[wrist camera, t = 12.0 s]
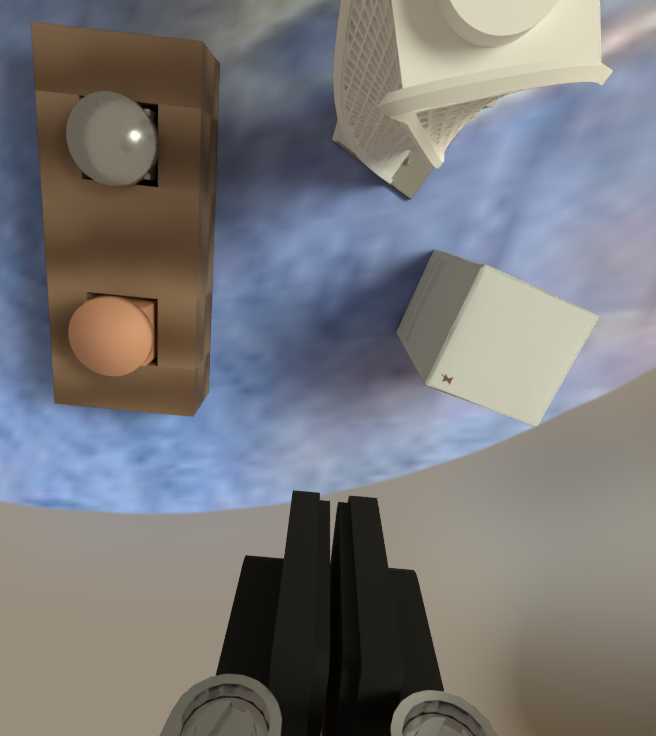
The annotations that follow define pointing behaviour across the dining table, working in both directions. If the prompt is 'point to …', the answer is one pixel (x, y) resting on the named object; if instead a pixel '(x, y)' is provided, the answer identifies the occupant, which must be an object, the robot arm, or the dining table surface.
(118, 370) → the terracotta plug
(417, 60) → the skyscraper
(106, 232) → the plug block
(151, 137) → the plug
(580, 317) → the supplement box
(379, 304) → the dining table surface
